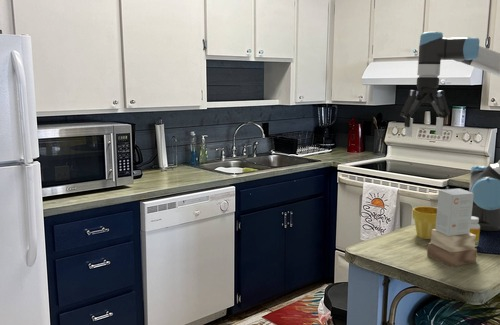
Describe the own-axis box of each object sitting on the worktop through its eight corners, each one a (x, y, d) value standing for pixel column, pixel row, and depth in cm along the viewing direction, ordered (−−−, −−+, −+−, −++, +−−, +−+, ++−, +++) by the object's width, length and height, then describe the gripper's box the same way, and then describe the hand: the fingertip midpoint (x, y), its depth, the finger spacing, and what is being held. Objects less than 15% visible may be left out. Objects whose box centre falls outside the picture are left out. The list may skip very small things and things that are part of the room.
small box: (455, 227, 155) (459, 187, 153) (470, 234, 150) (474, 193, 147) (434, 229, 153) (438, 189, 150) (448, 236, 147) (452, 194, 144)
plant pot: (405, 235, 175) (407, 209, 173) (420, 230, 181) (422, 204, 180) (432, 243, 167) (434, 215, 165) (447, 237, 174) (449, 210, 172)
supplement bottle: (457, 243, 167) (459, 216, 165) (468, 241, 169) (471, 214, 168) (470, 248, 162) (472, 220, 161) (481, 246, 164) (484, 218, 163)
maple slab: (453, 240, 158) (454, 226, 157) (474, 249, 150) (476, 235, 149) (430, 242, 155) (431, 229, 154) (451, 252, 146) (452, 238, 146)
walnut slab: (450, 252, 160) (451, 239, 159) (475, 262, 151) (477, 249, 150) (427, 256, 155) (428, 243, 155) (451, 267, 147) (453, 253, 146)
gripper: (448, 77, 183) (443, 133, 186) (392, 76, 174) (388, 135, 178) (463, 77, 176) (458, 135, 180) (406, 76, 167) (401, 137, 171)
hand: (423, 135), depth 179 cm, fingers open, 13 cm apart
